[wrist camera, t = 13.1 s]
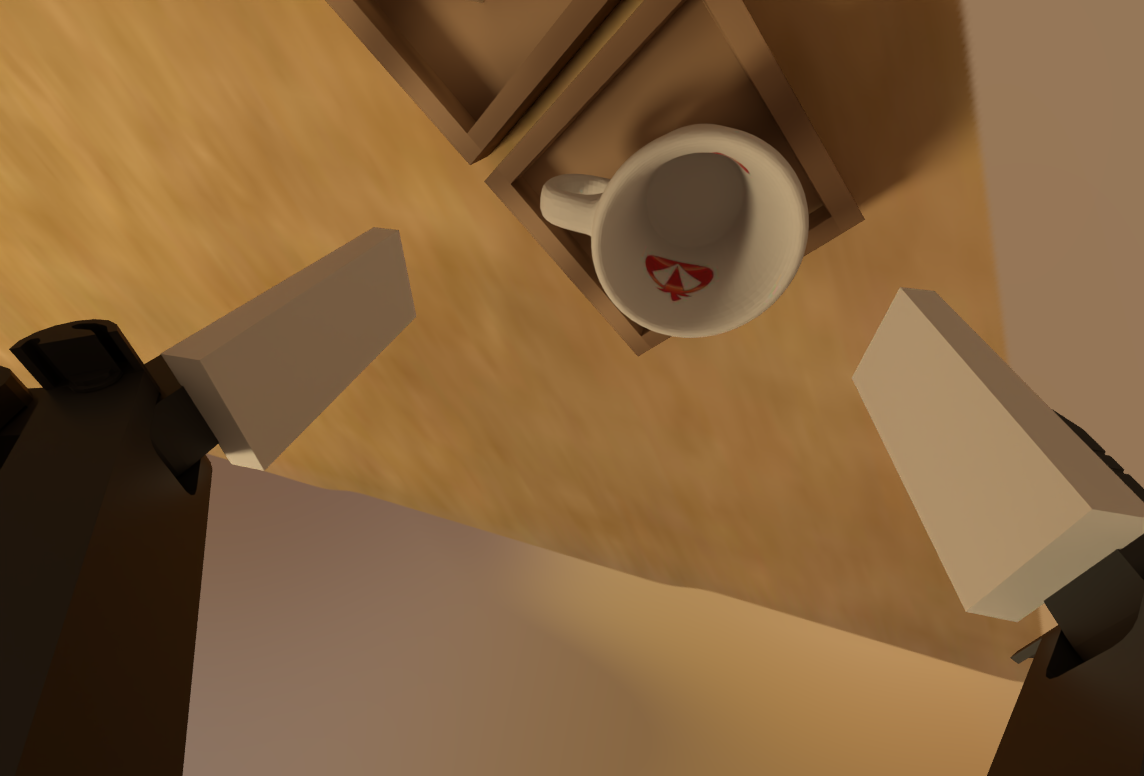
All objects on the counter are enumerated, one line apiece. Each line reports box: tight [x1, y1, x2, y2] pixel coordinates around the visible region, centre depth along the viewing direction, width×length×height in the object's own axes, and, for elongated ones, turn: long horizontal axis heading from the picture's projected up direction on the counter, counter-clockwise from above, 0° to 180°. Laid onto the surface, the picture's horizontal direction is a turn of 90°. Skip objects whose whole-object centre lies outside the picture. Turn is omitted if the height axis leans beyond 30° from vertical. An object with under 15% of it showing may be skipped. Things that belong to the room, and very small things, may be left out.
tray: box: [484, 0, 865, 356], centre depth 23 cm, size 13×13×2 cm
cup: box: [540, 124, 809, 338], centre depth 20 cm, size 11×8×8 cm
